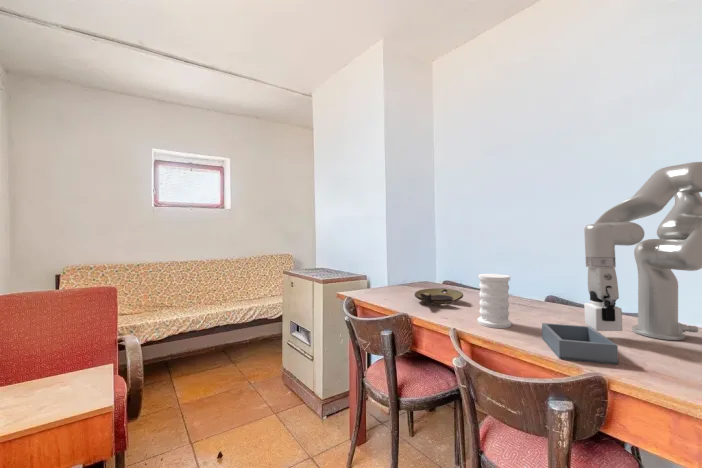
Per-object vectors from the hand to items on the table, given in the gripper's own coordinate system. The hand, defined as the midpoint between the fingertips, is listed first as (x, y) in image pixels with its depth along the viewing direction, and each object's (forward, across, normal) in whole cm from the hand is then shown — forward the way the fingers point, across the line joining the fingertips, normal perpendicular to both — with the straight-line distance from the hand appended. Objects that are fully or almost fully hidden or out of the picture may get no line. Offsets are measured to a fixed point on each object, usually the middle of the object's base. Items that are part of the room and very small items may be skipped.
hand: (602, 316), depth 101 cm
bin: (+6, -15, +12) cm, 20 cm away
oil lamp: (+6, +35, +54) cm, 65 cm away
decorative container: (+6, +7, +31) cm, 33 cm away
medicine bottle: (+4, 0, 0) cm, 4 cm away
